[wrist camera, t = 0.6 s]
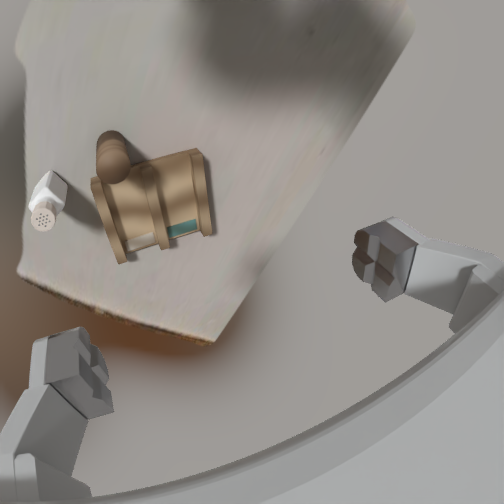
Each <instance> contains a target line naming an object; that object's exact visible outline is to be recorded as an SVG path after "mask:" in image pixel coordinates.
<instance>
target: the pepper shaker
mask: <svg viewBox="0 0 504 504" xmlns="http://www.w3.org/2000/svg"><path fill="white" fill-rule="evenodd" d="M67 188H68V186H67V184H66V183H65V182H64V181H63V180H62V179H61V178H60V177H59V176H57V175H56V174H55V173H54V172H53V171H51V170H50V171H48V172H47V173H46V174H45V175H44V177H43V178H42V179H41V180H40V181H39V182H38V184H37V185H36V186H35V189H34V191H33V194H32V197H31V200H30V203H29V209H30V211H31V212H32V216H31V221H32V225H33V226H34V227H35V229H37V230H39V231H41V232H43V231H49V230H50V229H52V228H53V226H54V224H55V222H56V216H57V215H58V214H59V213H60V212H61V210H62V209H63V208H64V206H65V201H66V195H67Z"/></svg>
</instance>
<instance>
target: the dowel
mask: <svg viewBox="0 0 504 504" xmlns="http://www.w3.org/2000/svg"><path fill="white" fill-rule="evenodd" d="M130 170H131V163H130V159H129V156H128V152H127V148H126V144H125V140H124V137H123V136H122V135H121V134H120V133H119V132H117V131H113V130H111V131H107V132H104V133H103V134H102V135H101V136H100V137H99V138H98V141H97V148H96V172H97V175H98V177H99V179H100V180H101V181H103V182H104V183H106V184H118V183H120V182H122V181H124V180H125V179H126V178H127V176H128V175H129V173H130Z"/></svg>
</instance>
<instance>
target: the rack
mask: <svg viewBox="0 0 504 504" xmlns="http://www.w3.org/2000/svg"><path fill="white" fill-rule="evenodd" d="M91 190H92V193H93V196H94V199H95V202H96V205H97V208H98V211H99V214H100V217H101V220H102V222H103V225H104V228H105V231H106V233H107V236H108V239H109V241H110V244H111V246H112V249H113V252H114V254H115V257H116V259H117V262H118V264H122V263H125V262H127V257H126V254H127V253H130V252H133V251H136V250H139V249H142V248H145V247H148V246H151V245H155V244H158V243H159V246H160V249H161V250H164V249H167V248H170V245H169V241H168V240H170V239H173V238H176V237H180V236H183V235H186V234H189V233H192V232H195V231H199V230H200V231H201V233H202V234H203V236H204V237H205V236H208V235H211V234H212V227H211V219H210V212H209V204H208V196H207V188H206V180H205V172H204V163H203V155H202V154H201V153H200V152H199V150H198V149H197V148H195V149H191V150H187V151H182V152H178V153H175V154H171V155H167V156H163V157H159V158H156V159H152V160H148V161H145V162H141V163H138V164H135V165H131V170H130V173H129V175H128V176H127V178H126V179H125V180H124V181H122V182H120V183H118V184H106V183H104V182H103V181H101V180H100V179H99V177H98V176H96V177H93V178H91Z"/></svg>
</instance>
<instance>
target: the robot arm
mask: <svg viewBox="0 0 504 504" xmlns="http://www.w3.org/2000/svg"><path fill="white" fill-rule="evenodd" d="M354 243H355V245H356V246H357V248H356V250H355V251H354V253H353V257H352V265H353V267H354V271H355V273H356V274H357V276H358V277H359V278H360V279H361V280H362V281H363V282H366V283H370V284H371V287H372V291H374V292H375V293H376V294H377V295H378V296H379V297H380V298H381V299H382V300H383V301H384V302H387V301H389V300H391V299H393V298H395V297H397V296H399V295H401V294H403V293H405V294H406V295H408V296H411V297H413V298H415V299H418V300H420V301H423V302H425V303H427V304H430V305H432V306H435V307H437V308H439V309H442V310H444V311H446V312H449V313H451V314H453V317H452V319H451V321H450V323H449V328H450V329H451V330H452V331H453V332H454V333H455V335H453V336H452V337H451V338H450V339H448V340H447V341H446V342H445V343H443V344H442V345H441V346H440V347H439V348H437V349H436V350H435V351H433V352H432V353H431V354H429V355H428V356H427V357H425V358H424V359H423V360H421V361H420V362H419V363H417V364H416V365H414V366H413V367H412V368H410V369H409V370H408V371H406V372H405V373H403V374H402V375H400V376H399V377H398V378H396V379H394V380H393V381H391V382H390V383H388V384H387V385H385V386H384V387H382V388H381V389H379V390H378V391H376V392H374V393H373V394H371V395H369V396H368V397H366V398H365V399H363V400H362V401H360V402H358V403H356V404H355V405H353V406H351V407H350V408H348V409H346V410H344V411H343V412H341V413H339V414H337V415H335V416H333V417H332V418H330V419H328V420H326V421H324V422H322V423H320V424H318V425H316V426H314V427H312V428H310V429H308V430H306V431H304V432H302V433H300V434H298V435H296V436H294V437H292V438H290V439H287V440H285V441H283V442H281V443H279V444H276V445H274V446H272V447H269V448H267V449H265V450H262V451H260V452H258V453H255V454H253V455H250V456H248V457H245V458H242V459H240V460H237V461H234V462H232V463H229V464H226V465H223V466H220V467H217V468H215V469H211V470H208V471H205V472H202V473H199V474H196V475H192V476H189V477H186V478H182V479H179V480H175V481H171V482H167V483H163V484H159V485H155V486H151V487H146V488H143V489H138V490H132V491H127V492H122V493H116V494H111V495H104V496H97V497H92V496H91V491H90V487H89V486H87V485H86V484H85V483H83V482H80V481H78V480H76V479H74V478H72V477H71V476H72V472H73V469H74V465H75V462H76V458H77V455H78V452H79V449H80V445H81V442H82V439H83V436H84V433H85V430H86V427H87V424H88V419H92V418H95V417H99V416H102V415H106V414H109V413H113V412H114V409H113V403H112V396H111V391H110V390H109V389H108V388H107V387H106V383H107V381H108V379H109V375H108V369H107V366H106V363H105V360H104V358H103V356H102V354H101V352H100V351H99V349H98V347H96V346H94V345H92V344H90V336H89V334H88V333H87V331H86V330H85V329H84V328H83V327H77V328H74V329H71V330H67V331H64V332H61V333H57V334H54V335H50V336H48V337H44V338H41V339H38V340H36V341H35V342H34V343H33V348H32V357H31V367H30V379H29V389H27V390H25V391H24V392H23V394H22V396H21V397H20V399H19V401H18V403H17V405H16V406H15V408H14V410H13V411H12V413H11V415H10V417H9V419H8V421H7V422H6V424H5V426H4V428H3V430H2V432H1V434H0V504H504V262H503V261H502V260H500V259H499V258H497V257H496V256H495V255H494V254H492V253H489V252H485V251H481V250H478V249H474V248H470V247H466V246H462V245H458V244H454V243H450V242H446V241H442V240H438V239H434V238H432V239H429V238H427V237H426V236H424V235H423V234H421V233H420V232H418V231H417V230H415V229H414V228H412V227H411V226H409V225H408V224H406V223H405V222H403V221H402V220H400V219H399V218H396V217H391V218H388V219H386V220H383V221H381V222H379V223H376V224H374V225H371V226H368V227H366V228H363V229H360V230H358V231H357V232H356V234H355V239H354Z"/></svg>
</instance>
